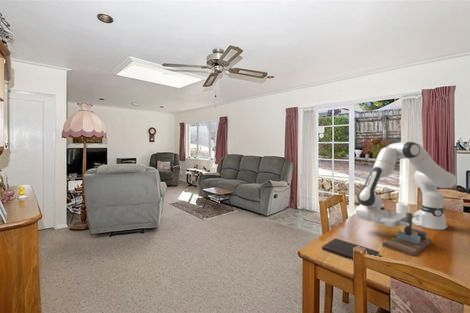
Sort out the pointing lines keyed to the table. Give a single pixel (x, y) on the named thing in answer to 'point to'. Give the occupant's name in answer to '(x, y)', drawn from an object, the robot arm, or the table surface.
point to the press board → (408, 244)
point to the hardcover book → (345, 248)
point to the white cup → (402, 208)
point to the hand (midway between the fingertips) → (410, 223)
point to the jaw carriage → (408, 232)
